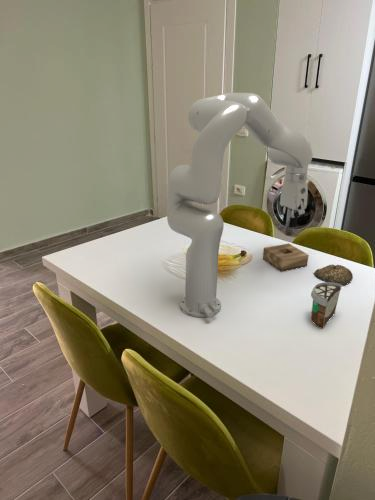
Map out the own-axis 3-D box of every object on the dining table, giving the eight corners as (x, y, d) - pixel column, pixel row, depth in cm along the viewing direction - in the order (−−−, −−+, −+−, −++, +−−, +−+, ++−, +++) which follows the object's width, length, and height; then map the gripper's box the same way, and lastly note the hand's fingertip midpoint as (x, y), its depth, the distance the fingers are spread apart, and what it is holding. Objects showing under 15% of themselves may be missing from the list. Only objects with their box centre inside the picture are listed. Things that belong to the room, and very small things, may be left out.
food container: (316, 305, 117) (321, 277, 113) (336, 312, 114) (342, 283, 110) (300, 322, 108) (304, 292, 104) (320, 330, 105) (326, 300, 101)
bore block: (306, 266, 143) (308, 254, 141) (281, 271, 138) (282, 259, 136) (287, 254, 153) (288, 243, 151) (262, 259, 148) (263, 247, 146)
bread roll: (340, 289, 127) (343, 276, 125) (309, 276, 136) (311, 263, 134) (359, 278, 135) (362, 266, 133) (328, 266, 144) (330, 254, 142)
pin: (294, 235, 140) (297, 207, 136) (287, 236, 139) (291, 208, 135) (289, 232, 143) (292, 204, 138) (282, 233, 142) (286, 205, 137)
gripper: (319, 181, 127) (312, 231, 134) (289, 171, 140) (284, 217, 148) (302, 183, 124) (295, 234, 131) (273, 173, 138) (268, 220, 145)
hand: (289, 225), depth 139 cm, fingers closed on pin, 3 cm apart
